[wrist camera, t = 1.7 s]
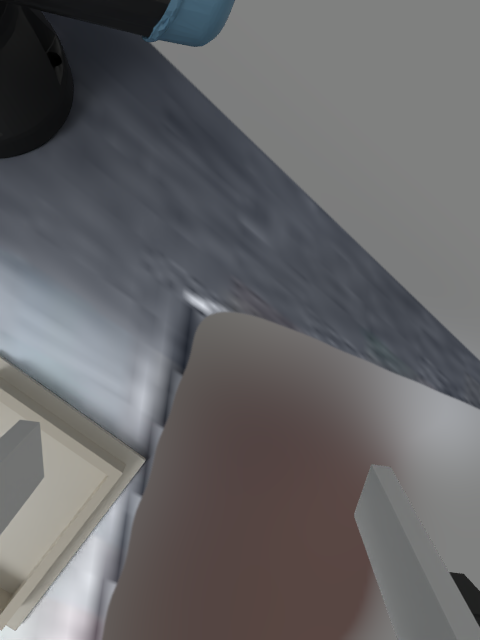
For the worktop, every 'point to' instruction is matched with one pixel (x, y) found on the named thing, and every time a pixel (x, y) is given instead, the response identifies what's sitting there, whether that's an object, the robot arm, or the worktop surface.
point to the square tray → (55, 490)
